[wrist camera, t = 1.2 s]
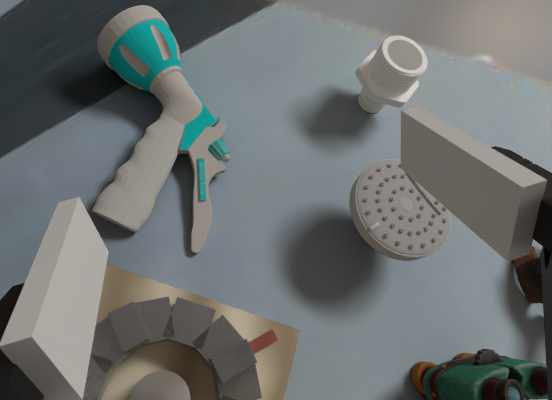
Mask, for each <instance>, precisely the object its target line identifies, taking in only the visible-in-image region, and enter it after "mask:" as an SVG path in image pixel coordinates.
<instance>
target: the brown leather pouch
mask: <svg viewBox="0 0 552 400" xmlns="http://www.w3.org/2000/svg"><path fill="white" fill-rule="evenodd" d="M539 259H540V258H538V257H537V256H536V252H535V248H534V247H533V246H531V249H530V253H529V255H526V256H523V257H519V258H516V259H514V264H515V268H516V272H517V275H518V280H519V282H520V285H521V288H522V290H523V292H524V294H525V296H526V298H527V299H528V301H529V302H530V303H543V292H542V274H541V273H540V274H537V273H536V270H537V267H538V263H539Z"/></svg>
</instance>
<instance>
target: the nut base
mask: <svg viewBox="0 0 552 400" xmlns="http://www.w3.org/2000/svg"><path fill="white" fill-rule="evenodd" d="M168 296H169V300H170V307H171V312H172V309H173V307H174V304H175V302H176V299H177V297H179V298H182V299H185V300H188V301H191V302H194V303H197V304H200V305H203V306H206V307H209V308H212V309H215V310H216V311H215V314H214V317H213V320H212V323H211V325H212V324H213V323H214V322H215V321H216V320H217V319H218V318H219V317H220V316H222V315H224V317H225V318H226V319H227V320H228V321H229V322H230V324H231V325H232V326H233V327H234V328H235V329H236V331H237V332H238V333H239V334H240V335H241V336H242V338H243V339H244V340H245V339H247V341H248V343H249V345H250V348H251V350H252V352H253V354H254V356H255V358H256V360H257V363H256V364H255V365H256V370H257V375H258V380H259V385H260V390H261V395H262V398H260V399H257V400H283V398H284V394H285V390H286V385H287V381H288V377H289V373H290V369H291V365H292V361H293V357H294V353H295V349H296V345H297V341H298V336H299V332H300V330H298V329H295V328H292V327H289V326H286V325H283V324H280V323H278V322H275V321H272V320H269V319H266V318H263V317H260V316H257V315H254V314H251V313H248V312H245V311H242V310H239V309H236V308H233V307H230V306H228V305H225V304H222V303H219V302H216V301H213V300H210V299H207V298H204V297H201V296H198V295H195V294H192V293H189V292H186V291H183V290H180V289H177V288H175V287H172V286H169V285H166V284H163V283H160V282H157V281H154V280H151V279H148V278H145V277H142V276H139V275H136V274H133V273H130V272H127V271H124V270H122V269H119V268H116V267H113V266H110V265H107V264H106V269H105V275H104V281H103V286H102V292H101V298H100V303H99V309H98V315H97V321H96V325H97V324H98V323H100V322H101V321H102V320H103V319H105V318H106V317H107V316H108V313H109V312H111V311H113V310H115V309H117V308H120V307H122V306H124V305H126V304H128V303H130V302H134V303H138V302H143V301H148V300H153V299H158V298H163V297H168ZM43 400H46V399H45V398H44V399H43ZM101 400H217V395H216V389H215V383H214V377H213V372H212V370H211V368H210V367H209V366H208V365H207V364H206V362H205V361H204V360H203V359H202V358H201V356H200V355H199V354H198V353H197V351H196V350H195V349H193V348H190V347H187V346H184V345H181V344H177V343H174V342H171V341H164V342H159V343H155V344H151V345H146V346H142V347H139V348H138V349H136V350H135V351H134V352H133V353H132V354H130V355H129V356H128V357H127V358H126V359H125V360H123V361H122V362H121V363H120V364H119V365H118V366H116V367H115V368H114V370H113V373H112V375H111V377H110V379H109V382H108V384H107V386H106V389H105V391H104V393H103V396H102V398H101Z"/></svg>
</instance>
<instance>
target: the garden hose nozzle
mask: <svg viewBox="0 0 552 400" xmlns="http://www.w3.org/2000/svg"><path fill="white" fill-rule="evenodd" d="M97 48H98V52H99V54H100V56H101V57H102V59H103V60H104V62H105V63H106V64H107V66H108V67H109V68H111V69H112V70H114V71H115V72H116V73H117V74H118V75H119V76H120V77H121V78H122V79H124V80H125V81H126V82H127V83H129V84H130V85H132V86H134V87H136V88H138V89H141V90H145V91H149V92H151V93H153V94H155V96H156V97H157V98H158V99H159V101H160V102H161V103H162V106H163V111H162V113H161V115H160V118H159V119H158V120H157V121H156V122H154V123H153V124H151V125H150V126H149V127H148V128H146V130H145V134H144V136H143V138H142V139H141V140H140V141H138V143H137V144H136V145H135V147H134V151H133V154H132V156H131V158H130V159H129V161H127V162H126V163H125V164H123V165H122V166H121V167H119V168H118V170H117V172H116V174H115V178H114V181H113V182H112V183H111V184H110V185H109V186H107V187H106V188H105V189H104V190H103V191H102V193H101V194H100V195H99V197H98V198H97V200H96V203H95V205H94V207H93V209H92V212H94V213H95V214H97V215H98V216H100V217H102V218H104V219H106V220H108V221H110V222H112V223H114V224H116V225H119V226H121V227H123V228H125V229H127V230H129V231H131V232H138V231H139V229H140V228H141V226H142V225H143V224H144V223H145V222H146V221H147V219H148V217H149V216H150V214H151V212H152V209H153V207H154V203H155V200H156V197H157V195H158V193H159V192H160V190H161V188H162V186H163V185H164V183H165V181H166V179H167V177H168V175H169V173H170V170H171V168H172V166H173V164H174V162H175V160H176V157H177V155H178V153H179V154H188V155H189V158H190V160H191V163H192V167H193V171H194V186H193V225H192V231H191V252H193V253H195V254H197V253H198V252H199V251H200V250H201V248H202V246H203V244H204V241H205V239H206V237H207V235H208V233H209V230H210V228H211V223H212V210H211V203H210V197H209V192H208V184H209V182H210V181H211V179H212V178H213V177H214V176H216V175H218V174H220V173H223V172H225V170H226V166H225V165H224V164H222V163H220V162H218V161H217V160H216V159H214V157H213V156H212V155H211V153H212V154H213V155H214V156H215V157H216V158H217V159H218V160H221V159H222V160H223V161H225V162H227V161H228V160H229V159H230V156H229V155H228V154H229V151H228V149H227V147H226V145H225V144H224V142H223V140H222V138H223V136H224V134H225V132H226V129H227V127H226V125H225V123H223V122H222V121H219V120H220V117H218V118H217V119H215V118H214V117H213V115H212V114H211V112H210V111H209V110H208V108H207V107H206V106H205V104H204V103H203V102H202V100H201V99H200V98H199V96H198V95H197V94H196V92H195V91H194V92H193V90H192V89H191V87H190V86H189V84H188V83H187V81H186V79H185V78H184V76H183V75H182V74H183V70H182V69H181V67H180V65H181V57H180V50H179V46H178V44H177V42H176V39H175V37H174V36H173V34H172V32H171V31H170V29H169V26H168V23H167V22H166V20H165V19H164V18H163V17H162V15H161V14H160V13H159V12H158V11H157V10H155V9H154V8H152V7H150V6H144V5H142V6H135V7H131V8H129V9H126V10H124V11H122V12H121V13H119V14H118V15H116V16H115V17H114V18H112V19H111V20H110V21H109V22H108V23H107V24H106V26H105V27H104V28H103V30H102V31H101V33H100V35H99V38H98V42H97ZM209 151H210V152H211V153H210V152H209Z"/></svg>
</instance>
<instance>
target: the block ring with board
mask: <svg viewBox="0 0 552 400" xmlns="http://www.w3.org/2000/svg"><path fill="white" fill-rule="evenodd" d="M215 311H216V310H215V309H212V308H209V307H206V306H203V305H200V304H197V303H194V302H191V301H188V300H185V299H182V298H179V297H177V299H176V302H175V304H174V307H173V309H172V312H171V307H170V300H169V296H168V297H163V298H158V299H153V300H148V301H143V302H138V303H134V302H130V303H128V304H126V305H124V306H122V307H120V308H117V309H115V310H113V311H111V312H109V313H108V316H107V317H106V318H105V319H103V320H102V321H101V322H100V323H98V324H97V325H96V326H95V332H94V338H93V343H92V349H91V355H90V360H89V366H88V372H87V378H86V383H85V389H84V395H83V400H101V398H102V396H103V393H104V391H105V389H106V386H107V384H108V382H109V379H110V377H111V375H112V373H113V370H114V368H115V367H116V366H118V365H119V364H120V363H121V362H122V361H123V360H125V359H126V358H127V357H128V356H129V355H130V354H132V353H133V352H134V351H135V350H136V349H138V348H139V347H142V346H146V345H151V344H155V343H159V342H164V341H171V342H174V343H177V344H181V345H184V346H187V347H190V348H193V349H195V350H196V351H197V353H198V354H199V355H200V356H201V358H202V359H203V360H204V361H205V362H206V364H207V365H208V366H209V367H210V368H211V370H212V372H213V377H214V383H215V389H216V395H217V400H257V399H260V398H262V395H261V390H260V385H259V380H258V375H257V370H256V365H255V364H256V363H257V360H256V358H255V356H254V354H253V352H252V350H251V348H250V345H249V343H248V341H247V339H245V340H244V339H243V338H242V336H241V335H240V334H239V333H238V332H237V331H236V329H235V328H234V327H233V326H232V325H231V324H230V322H229V321H228V320H227V319H226V318H225V317H224V315H222V316H220V317H219V318H218V319H217V320H216V321H215V322H214V323H213V324H212V325H211V323H212V320H213V317H214V314H215Z"/></svg>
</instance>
